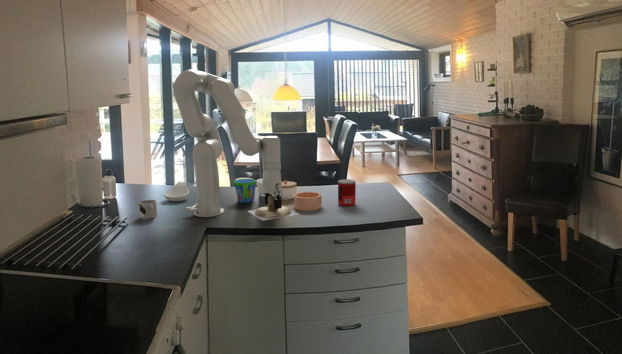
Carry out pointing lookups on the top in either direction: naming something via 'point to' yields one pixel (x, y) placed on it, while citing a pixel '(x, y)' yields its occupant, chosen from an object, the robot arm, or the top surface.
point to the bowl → (307, 201)
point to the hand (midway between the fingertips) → (273, 206)
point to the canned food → (346, 192)
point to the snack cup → (245, 190)
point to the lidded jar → (288, 190)
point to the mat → (274, 217)
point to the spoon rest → (178, 192)
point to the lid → (272, 210)
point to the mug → (148, 209)
